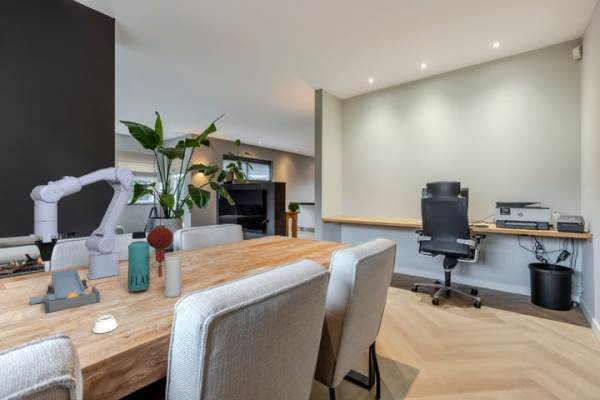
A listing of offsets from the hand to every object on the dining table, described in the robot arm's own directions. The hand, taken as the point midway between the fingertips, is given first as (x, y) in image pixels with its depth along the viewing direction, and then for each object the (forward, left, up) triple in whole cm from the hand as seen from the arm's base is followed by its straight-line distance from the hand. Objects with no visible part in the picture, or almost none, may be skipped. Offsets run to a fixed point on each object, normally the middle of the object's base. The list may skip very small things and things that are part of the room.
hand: (46, 261), depth 95 cm
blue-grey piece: (-2, +7, -9) cm, 11 cm away
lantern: (-33, +10, -10) cm, 36 cm away
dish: (-5, +22, -9) cm, 24 cm away
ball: (-5, +22, -8) cm, 24 cm away
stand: (-5, +7, -9) cm, 13 cm away
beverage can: (-29, +35, -10) cm, 46 cm away
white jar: (-9, +47, -10) cm, 49 cm away
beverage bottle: (-22, +24, -10) cm, 34 cm away
